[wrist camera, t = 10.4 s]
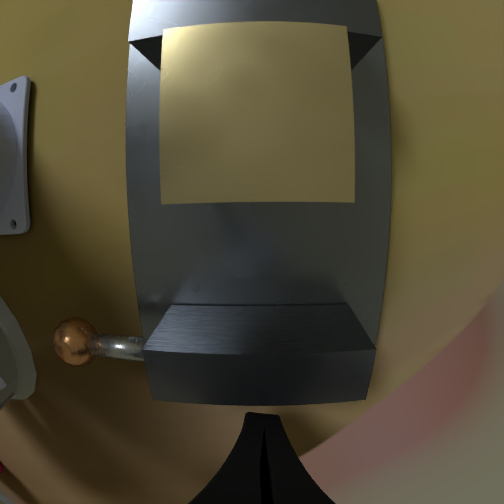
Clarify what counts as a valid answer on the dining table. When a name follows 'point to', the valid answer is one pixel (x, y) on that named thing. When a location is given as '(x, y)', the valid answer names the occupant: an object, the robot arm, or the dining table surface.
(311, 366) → the sliding jaw
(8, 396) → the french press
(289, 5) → the vise
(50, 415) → the dining table surface
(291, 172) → the brass block
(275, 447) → the robot arm
